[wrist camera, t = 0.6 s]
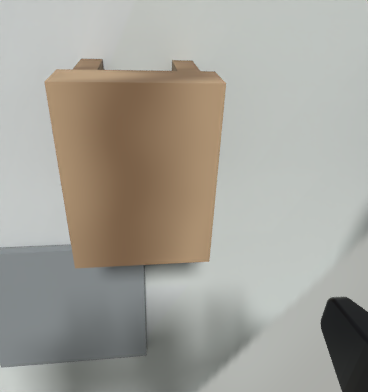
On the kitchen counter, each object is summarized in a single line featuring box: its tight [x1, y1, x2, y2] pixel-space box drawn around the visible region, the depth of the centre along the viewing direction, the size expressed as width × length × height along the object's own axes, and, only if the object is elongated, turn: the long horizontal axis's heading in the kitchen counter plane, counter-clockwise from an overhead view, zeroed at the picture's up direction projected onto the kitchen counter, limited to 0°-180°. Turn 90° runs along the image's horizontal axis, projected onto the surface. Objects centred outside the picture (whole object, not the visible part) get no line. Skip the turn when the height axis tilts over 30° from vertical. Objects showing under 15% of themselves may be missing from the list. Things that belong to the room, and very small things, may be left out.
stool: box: [45, 59, 226, 268], centre depth 16 cm, size 6×8×6 cm
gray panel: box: [0, 245, 147, 368], centre depth 25 cm, size 11×11×1 cm
